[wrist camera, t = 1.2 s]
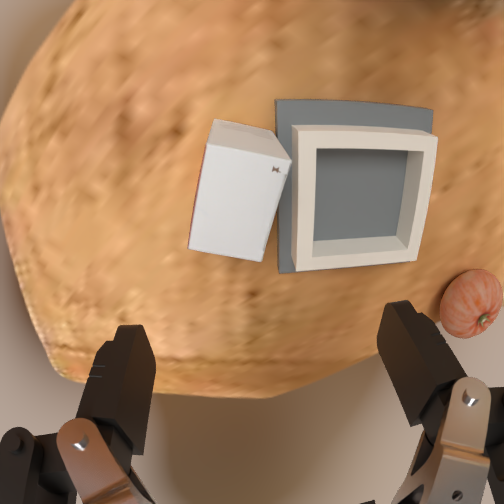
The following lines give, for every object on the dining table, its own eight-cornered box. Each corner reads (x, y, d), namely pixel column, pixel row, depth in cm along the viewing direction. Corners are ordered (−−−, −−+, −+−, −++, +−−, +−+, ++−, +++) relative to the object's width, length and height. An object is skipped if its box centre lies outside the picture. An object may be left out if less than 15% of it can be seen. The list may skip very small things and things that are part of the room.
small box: (214, 117, 27) (205, 139, 18) (273, 130, 28) (294, 159, 19) (197, 195, 31) (184, 251, 22) (252, 206, 32) (262, 264, 23)
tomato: (418, 297, 41) (443, 336, 34) (471, 244, 37) (504, 277, 30) (446, 324, 45) (467, 359, 38) (492, 280, 41) (518, 311, 34)
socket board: (274, 99, 27) (282, 103, 23) (425, 108, 27) (450, 115, 23) (277, 265, 36) (283, 290, 32) (404, 255, 37) (420, 276, 33)
